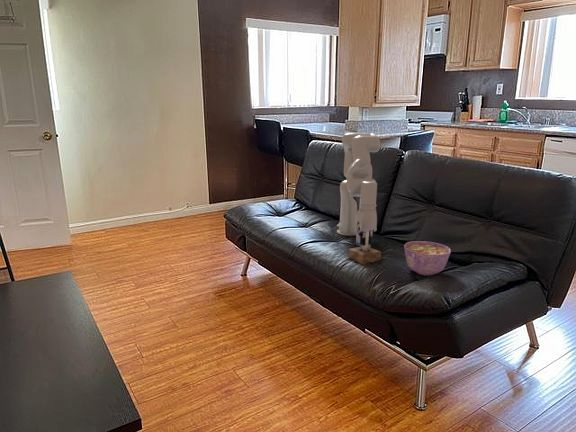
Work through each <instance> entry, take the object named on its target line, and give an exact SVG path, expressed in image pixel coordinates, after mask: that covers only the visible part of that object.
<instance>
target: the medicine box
mask: <svg viewBox="0 0 576 432" xmlns="http://www.w3.org/2000/svg"><path fill="white" fill-rule="evenodd" d="M359 232H360V230H359ZM362 234H363V232H362ZM355 236H356V237H355V238H356V239H355V245H357V246H358V247H361V246H362V245H361V244H360V236H359V235H358V234H357V233H356V235H355ZM371 244H372V243H371ZM371 244H370V245H369V244H368V247H370V248H371Z"/></svg>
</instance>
